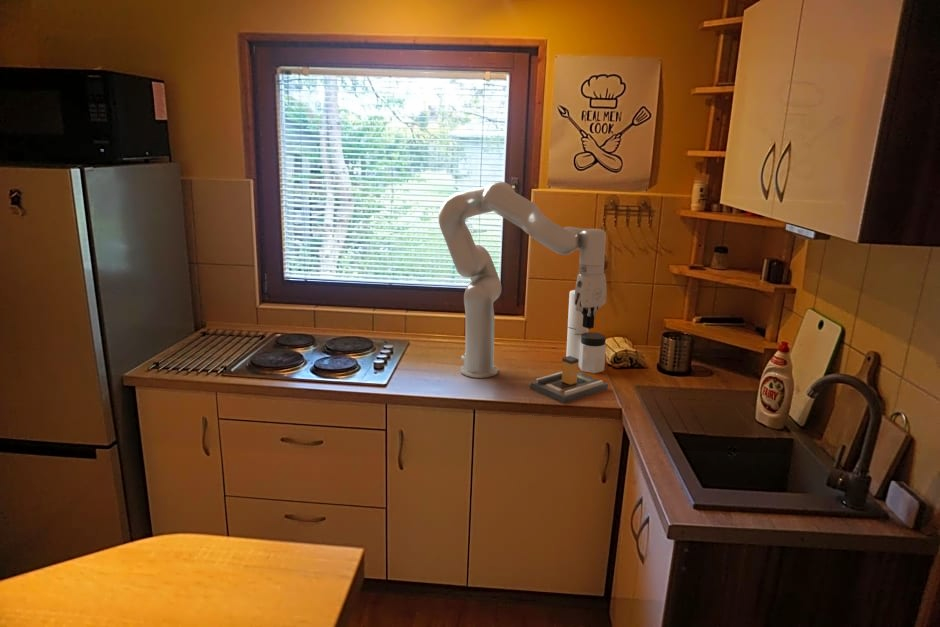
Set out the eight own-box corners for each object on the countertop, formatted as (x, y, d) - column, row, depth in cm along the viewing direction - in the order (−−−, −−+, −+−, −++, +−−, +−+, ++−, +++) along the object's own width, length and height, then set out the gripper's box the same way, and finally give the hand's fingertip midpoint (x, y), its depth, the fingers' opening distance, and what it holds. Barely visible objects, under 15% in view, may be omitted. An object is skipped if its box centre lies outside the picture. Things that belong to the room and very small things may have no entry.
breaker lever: (561, 381, 198) (562, 357, 196) (568, 379, 200) (569, 355, 198) (570, 384, 195) (571, 361, 193) (577, 382, 197) (578, 359, 195)
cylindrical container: (571, 356, 229) (575, 288, 222) (589, 360, 225) (594, 291, 218) (562, 361, 223) (565, 292, 217) (580, 365, 219) (584, 295, 213)
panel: (530, 388, 198) (530, 381, 198) (572, 375, 209) (573, 369, 209) (564, 403, 187) (564, 397, 186) (607, 389, 198) (607, 383, 197)
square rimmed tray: (535, 381, 198) (535, 378, 198) (571, 371, 207) (571, 368, 207) (566, 395, 187) (566, 392, 187) (603, 384, 197) (603, 381, 196)
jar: (590, 375, 210) (592, 340, 207) (573, 367, 217) (575, 334, 213) (609, 370, 215) (611, 336, 212) (592, 363, 221) (594, 330, 218)
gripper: (583, 274, 185) (580, 334, 190) (617, 269, 194) (613, 326, 198) (565, 270, 191) (562, 328, 196) (598, 265, 199) (595, 321, 204)
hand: (588, 327), depth 197 cm, fingers closed
